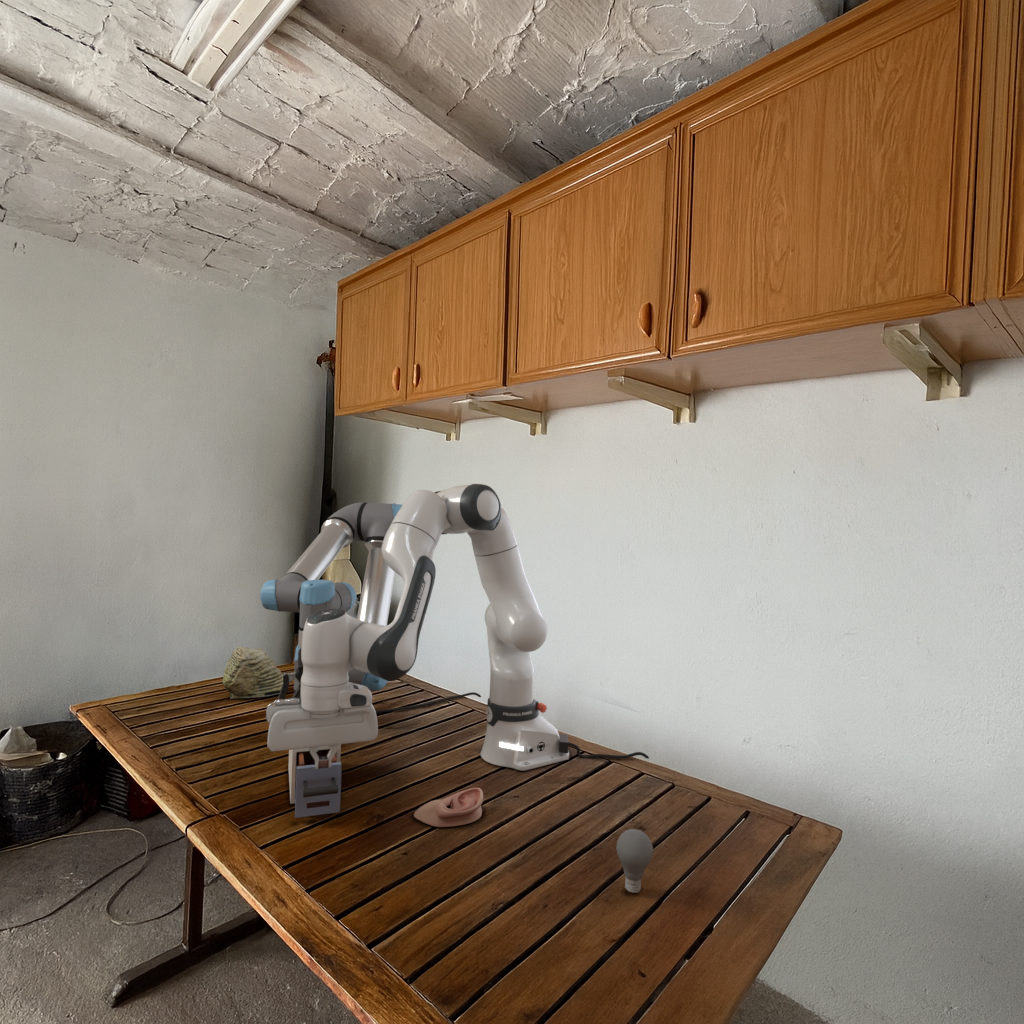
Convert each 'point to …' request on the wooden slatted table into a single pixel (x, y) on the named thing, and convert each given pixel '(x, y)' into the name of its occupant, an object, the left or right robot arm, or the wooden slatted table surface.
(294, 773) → the cabinet
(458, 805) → the anatomical model
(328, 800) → the drawer
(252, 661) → the fossil
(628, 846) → the light bulb
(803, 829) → the wooden slatted table surface
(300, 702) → the right robot arm
